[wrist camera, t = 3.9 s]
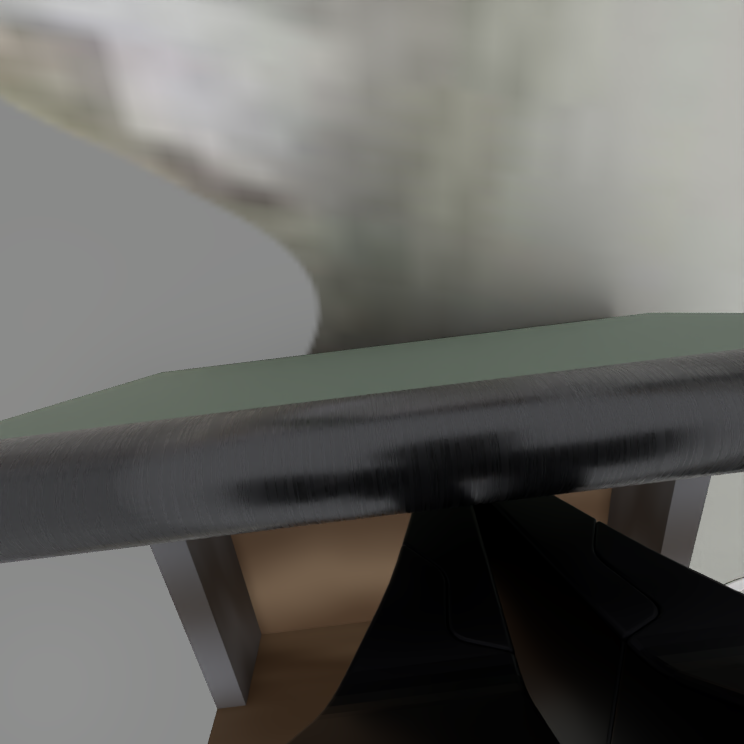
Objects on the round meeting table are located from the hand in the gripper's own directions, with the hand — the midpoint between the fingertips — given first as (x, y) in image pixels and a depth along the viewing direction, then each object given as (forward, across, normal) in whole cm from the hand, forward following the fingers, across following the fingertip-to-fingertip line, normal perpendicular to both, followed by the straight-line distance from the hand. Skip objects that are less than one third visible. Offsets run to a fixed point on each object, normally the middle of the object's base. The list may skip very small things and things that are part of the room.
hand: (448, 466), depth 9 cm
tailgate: (+6, 0, 0) cm, 6 cm away
